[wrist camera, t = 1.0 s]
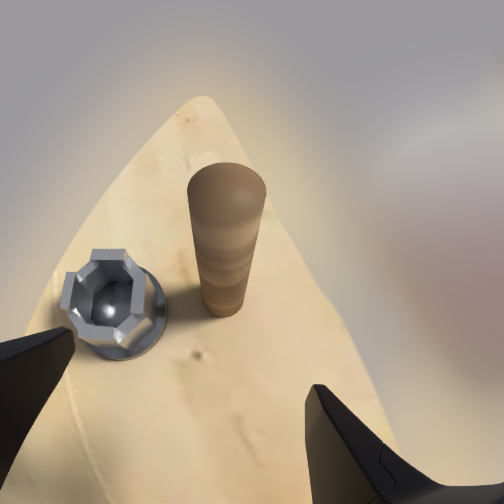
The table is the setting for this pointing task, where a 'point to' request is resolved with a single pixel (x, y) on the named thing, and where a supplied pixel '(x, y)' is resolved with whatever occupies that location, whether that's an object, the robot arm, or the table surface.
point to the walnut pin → (225, 231)
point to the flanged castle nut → (115, 305)
